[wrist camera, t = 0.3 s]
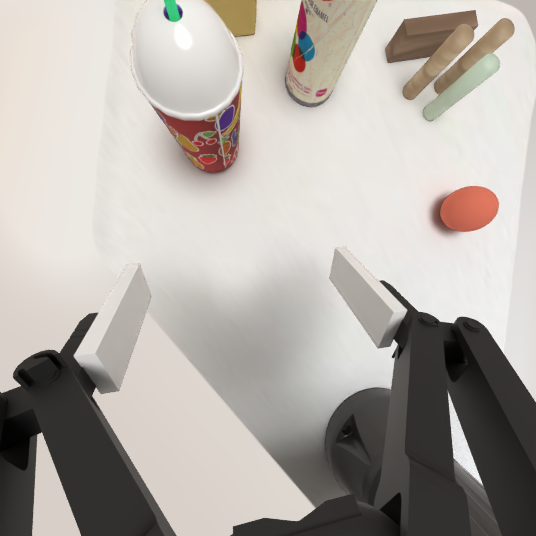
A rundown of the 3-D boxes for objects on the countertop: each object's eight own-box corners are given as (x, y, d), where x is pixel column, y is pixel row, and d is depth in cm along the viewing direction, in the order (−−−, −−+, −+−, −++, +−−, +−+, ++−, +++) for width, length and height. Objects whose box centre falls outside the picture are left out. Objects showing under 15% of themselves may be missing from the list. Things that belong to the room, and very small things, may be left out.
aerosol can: (279, 62, 32) (334, -274, 12) (326, 52, 32) (452, -284, 12) (292, 111, 32) (367, -137, 12) (338, 101, 33) (481, -152, 13)
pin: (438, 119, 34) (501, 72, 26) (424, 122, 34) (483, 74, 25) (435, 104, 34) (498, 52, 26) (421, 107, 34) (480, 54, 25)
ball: (470, 229, 35) (516, 222, 29) (433, 237, 34) (473, 232, 28) (463, 190, 35) (508, 175, 29) (426, 198, 34) (464, 184, 28)
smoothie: (257, 156, 32) (274, -25, 12) (209, 194, 31) (145, 72, 11) (217, 106, 31) (165, -172, 11) (168, 144, 31) (23, -76, 11)
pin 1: (418, 98, 34) (475, 43, 25) (404, 100, 34) (457, 45, 25) (415, 83, 34) (472, 22, 25) (401, 85, 33) (453, 25, 25)
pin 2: (449, 93, 34) (516, 37, 26) (435, 95, 34) (498, 39, 26) (446, 78, 34) (512, 17, 26) (433, 80, 34) (494, 19, 25)
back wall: (451, 53, 34) (478, 25, 30) (388, 62, 33) (407, 35, 29) (448, 39, 34) (475, 10, 30) (385, 48, 33) (404, 19, 29)
